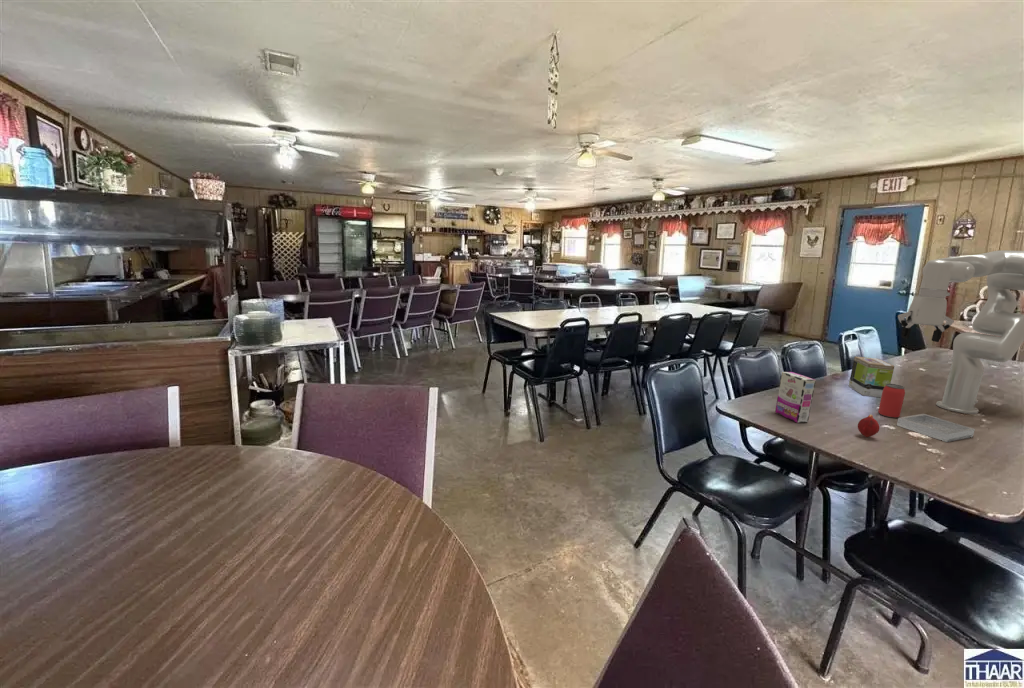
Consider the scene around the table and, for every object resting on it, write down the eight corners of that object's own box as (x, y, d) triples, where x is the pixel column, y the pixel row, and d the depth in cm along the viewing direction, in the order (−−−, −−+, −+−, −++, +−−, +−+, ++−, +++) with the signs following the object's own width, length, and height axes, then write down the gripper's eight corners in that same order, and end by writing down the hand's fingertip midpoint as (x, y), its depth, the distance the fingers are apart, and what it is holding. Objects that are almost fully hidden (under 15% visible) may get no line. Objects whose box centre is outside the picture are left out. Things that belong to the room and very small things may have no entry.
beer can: (899, 419, 173) (907, 389, 171) (877, 415, 177) (884, 385, 175) (899, 415, 178) (905, 385, 176) (877, 410, 182) (884, 382, 180)
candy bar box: (809, 422, 167) (817, 379, 163) (797, 423, 166) (805, 380, 162) (785, 411, 178) (792, 371, 174) (774, 412, 177) (781, 371, 173)
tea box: (888, 398, 199) (895, 365, 196) (861, 395, 201) (868, 363, 198) (872, 388, 213) (879, 357, 210) (847, 386, 216) (853, 355, 212)
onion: (877, 442, 152) (883, 419, 150) (856, 437, 155) (861, 415, 153) (875, 436, 157) (880, 414, 155) (854, 432, 160) (859, 410, 158)
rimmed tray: (922, 421, 173) (924, 413, 172) (972, 437, 159) (974, 429, 158) (896, 425, 167) (898, 417, 167) (946, 442, 154) (948, 433, 153)
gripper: (952, 295, 170) (940, 341, 174) (899, 291, 174) (888, 335, 178) (967, 297, 163) (953, 344, 167) (910, 292, 167) (898, 338, 170)
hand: (919, 339), depth 172 cm, fingers open, 9 cm apart
